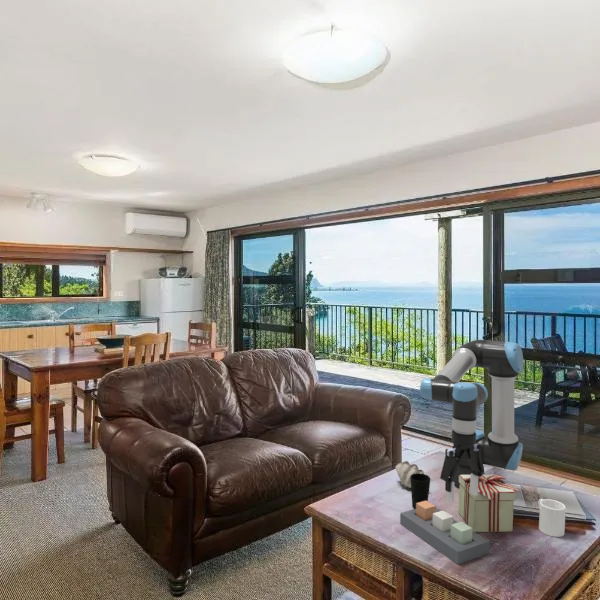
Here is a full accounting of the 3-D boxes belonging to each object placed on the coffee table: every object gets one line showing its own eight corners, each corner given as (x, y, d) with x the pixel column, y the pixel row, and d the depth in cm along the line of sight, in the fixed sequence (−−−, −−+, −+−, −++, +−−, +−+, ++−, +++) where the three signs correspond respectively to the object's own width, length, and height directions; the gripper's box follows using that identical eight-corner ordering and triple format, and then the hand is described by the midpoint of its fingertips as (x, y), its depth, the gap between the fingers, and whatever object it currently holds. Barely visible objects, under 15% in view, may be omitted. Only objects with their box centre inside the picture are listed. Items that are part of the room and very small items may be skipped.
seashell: (413, 478, 216) (413, 457, 215) (430, 493, 201) (431, 470, 201) (392, 481, 213) (392, 459, 213) (408, 496, 199) (408, 472, 198)
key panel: (429, 515, 183) (429, 504, 183) (489, 553, 158) (489, 541, 158) (400, 523, 176) (400, 512, 176) (457, 564, 152) (458, 552, 151)
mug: (548, 519, 181) (549, 493, 180) (569, 536, 169) (570, 509, 168) (527, 520, 180) (528, 494, 179) (548, 537, 168) (549, 510, 167)
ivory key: (442, 524, 170) (443, 510, 170) (452, 530, 166) (453, 516, 166) (432, 527, 168) (432, 513, 168) (442, 534, 164) (442, 519, 164)
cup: (430, 513, 185) (431, 482, 184) (409, 510, 186) (410, 480, 186) (429, 503, 192) (429, 474, 192) (409, 501, 194) (410, 472, 193)
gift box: (479, 539, 167) (481, 490, 166) (454, 513, 185) (455, 469, 184) (524, 535, 169) (526, 487, 168) (495, 510, 188) (496, 466, 187)
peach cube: (425, 513, 178) (426, 500, 178) (435, 519, 174) (435, 506, 173) (415, 516, 176) (416, 503, 175) (425, 522, 171) (425, 508, 171)
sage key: (460, 535, 163) (461, 521, 163) (472, 542, 159) (472, 528, 158) (450, 539, 161) (450, 524, 160) (461, 546, 156) (461, 531, 156)
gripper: (479, 423, 166) (477, 486, 168) (429, 432, 156) (427, 499, 157) (497, 429, 160) (495, 495, 161) (446, 439, 149) (444, 509, 150)
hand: (462, 497), depth 159 cm, fingers open, 10 cm apart
